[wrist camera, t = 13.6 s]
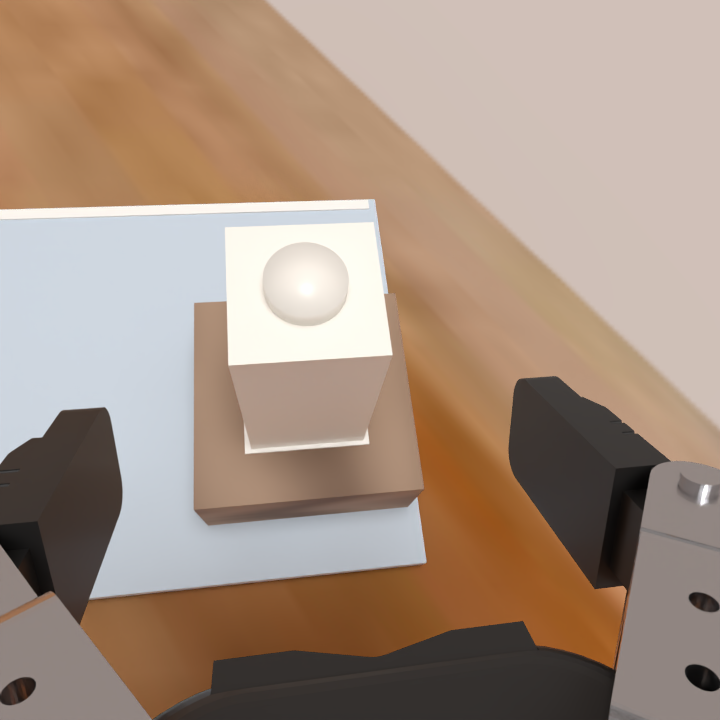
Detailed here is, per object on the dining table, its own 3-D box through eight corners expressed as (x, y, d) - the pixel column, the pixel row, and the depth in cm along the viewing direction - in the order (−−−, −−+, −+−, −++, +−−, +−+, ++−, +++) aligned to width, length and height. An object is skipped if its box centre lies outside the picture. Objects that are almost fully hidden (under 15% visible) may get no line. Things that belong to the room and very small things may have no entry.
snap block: (251, 449, 24) (225, 356, 16) (247, 347, 26) (222, 214, 17) (363, 440, 24) (395, 345, 16) (351, 341, 26) (375, 209, 18)
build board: (-97, 619, 25) (-187, 618, 20) (-26, 222, 33) (-80, 155, 28) (422, 564, 28) (447, 552, 23) (372, 210, 35) (383, 147, 31)
